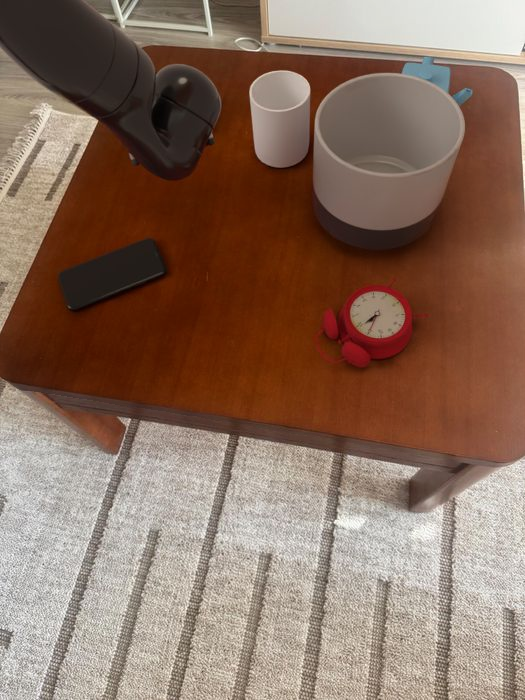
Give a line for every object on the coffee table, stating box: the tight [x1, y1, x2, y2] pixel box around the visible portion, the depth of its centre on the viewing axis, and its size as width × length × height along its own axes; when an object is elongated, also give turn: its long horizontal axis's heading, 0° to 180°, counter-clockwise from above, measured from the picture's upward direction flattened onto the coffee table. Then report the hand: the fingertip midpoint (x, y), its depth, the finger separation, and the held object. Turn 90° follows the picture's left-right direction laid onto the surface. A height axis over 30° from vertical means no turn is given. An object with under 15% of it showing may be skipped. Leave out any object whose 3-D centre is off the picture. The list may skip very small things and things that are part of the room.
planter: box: [311, 72, 466, 251], centre depth 76 cm, size 19×19×18 cm
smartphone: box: [57, 237, 168, 312], centre depth 81 cm, size 8×1×16 cm
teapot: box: [400, 56, 474, 107], centre depth 88 cm, size 18×14×10 cm
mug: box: [248, 70, 311, 169], centre depth 87 cm, size 10×12×12 cm
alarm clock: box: [314, 277, 429, 368], centre depth 73 cm, size 10×6×15 cm
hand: (170, 150), depth 84 cm, fingers closed
